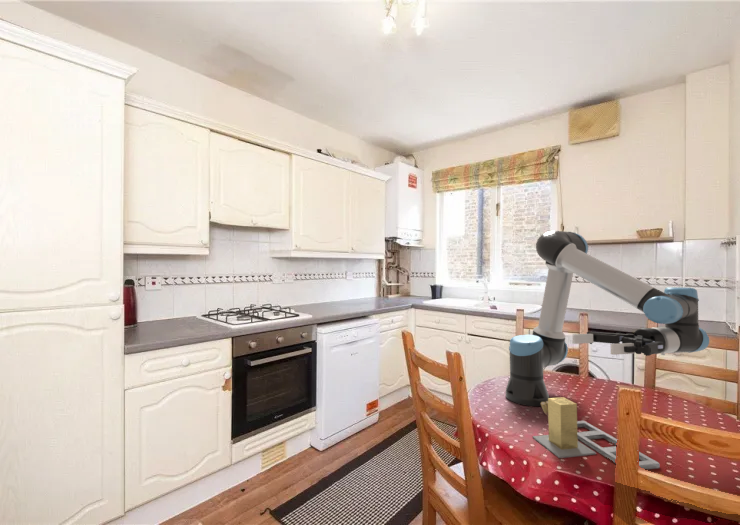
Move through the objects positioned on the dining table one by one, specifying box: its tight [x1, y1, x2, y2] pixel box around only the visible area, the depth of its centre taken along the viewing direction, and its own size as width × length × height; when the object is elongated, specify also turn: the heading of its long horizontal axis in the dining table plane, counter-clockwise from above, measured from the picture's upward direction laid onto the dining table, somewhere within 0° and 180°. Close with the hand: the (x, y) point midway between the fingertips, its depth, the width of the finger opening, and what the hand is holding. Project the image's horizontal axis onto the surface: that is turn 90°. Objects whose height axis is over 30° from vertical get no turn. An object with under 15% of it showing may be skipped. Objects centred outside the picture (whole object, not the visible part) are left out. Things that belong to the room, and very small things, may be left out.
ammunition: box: [540, 401, 548, 416], centre depth 113 cm, size 5×7×8 cm
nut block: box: [547, 396, 579, 450], centre depth 95 cm, size 5×5×12 cm
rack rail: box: [577, 420, 660, 470], centre depth 95 cm, size 24×9×1 cm, turn 9°
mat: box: [532, 434, 597, 459], centre depth 95 cm, size 11×11×1 cm
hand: (591, 343), depth 97 cm, fingers open, 13 cm apart
